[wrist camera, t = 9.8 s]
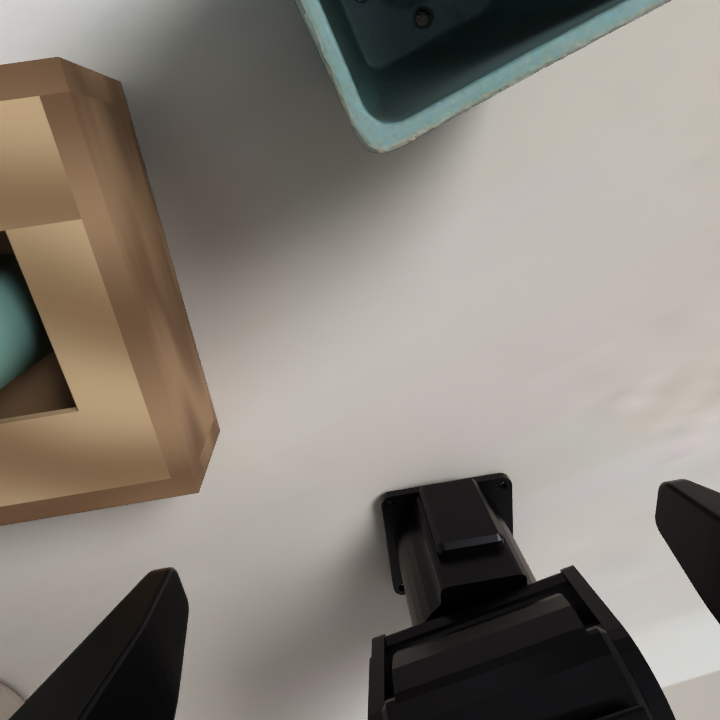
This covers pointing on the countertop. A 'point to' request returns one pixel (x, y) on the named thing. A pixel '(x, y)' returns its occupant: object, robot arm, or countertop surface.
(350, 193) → the countertop surface
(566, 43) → the flower pot
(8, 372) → the dowel
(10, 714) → the coffee cup
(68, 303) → the brown wooden box
